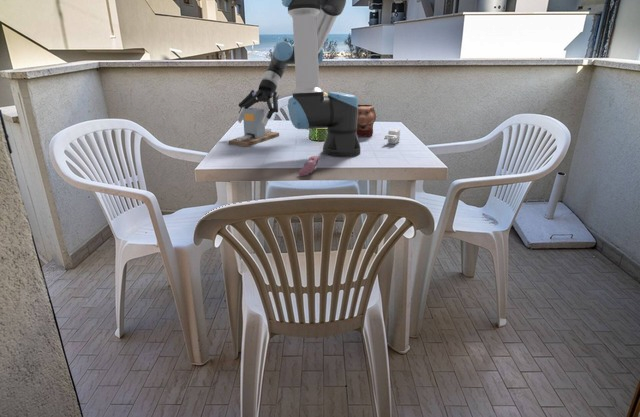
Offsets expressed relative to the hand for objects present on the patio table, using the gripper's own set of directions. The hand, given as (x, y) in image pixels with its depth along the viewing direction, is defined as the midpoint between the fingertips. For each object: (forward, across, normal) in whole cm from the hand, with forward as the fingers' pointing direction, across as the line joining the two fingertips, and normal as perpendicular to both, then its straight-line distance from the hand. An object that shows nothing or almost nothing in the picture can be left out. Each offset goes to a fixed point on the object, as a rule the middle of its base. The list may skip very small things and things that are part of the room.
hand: (250, 122), depth 180 cm
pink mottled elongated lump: (+25, -46, +14) cm, 54 cm away
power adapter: (-12, -56, -24) cm, 62 cm away
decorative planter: (-21, -37, -32) cm, 53 cm away
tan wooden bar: (+3, 0, -6) cm, 7 cm away
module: (+3, 0, -6) cm, 7 cm away
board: (+4, 0, -7) cm, 8 cm away
